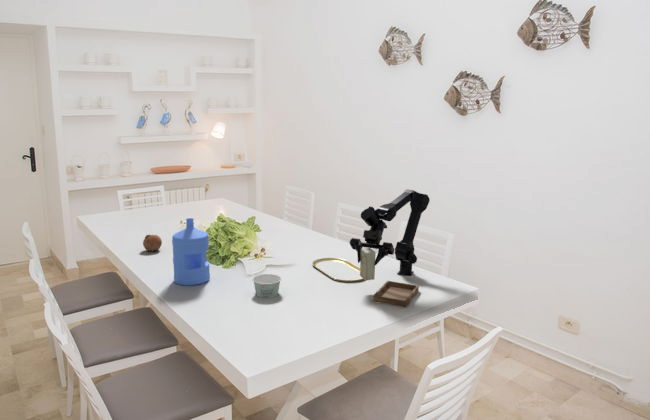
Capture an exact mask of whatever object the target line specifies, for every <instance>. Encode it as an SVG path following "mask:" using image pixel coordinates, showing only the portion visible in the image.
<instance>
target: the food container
mask: <svg viewBox="0 0 650 420" xmlns="http://www.w3.org/2000/svg"><path fill="white" fill-rule="evenodd" d="M281 281H282V277H281V276H279V275H277V274H273V273H263V274H258V275H257V274H256V275H255V276H252V282H253V285H254V290H255V295H256V296H258V297H260V298H272V297H275V296H276V297H277V296H278V294H279V289H280V283H281Z"/></svg>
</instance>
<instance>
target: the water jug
mask: <svg viewBox="0 0 650 420" xmlns="http://www.w3.org/2000/svg"><path fill="white" fill-rule="evenodd" d="M185 221H186V223H185V225H186V227H185V228H184V229H181V230H180V231H177V232H175V233H173V235H172V238H171V241H172V256H173V257H172V262H173V281H174V282H175V283H176V284H178V285H181V286H197V285H202V284H205V283H207V282H208V281H209V280H210V278H211V273H210V262H208V260H207V251H208V250H209V249H210V247H209V244H210V240H209V239H210V238H209V233H208V232H206V231H203V230H201V229H198V228H195V226H194V224H195V223H194V218H193V217H192V218H189V217H188V218H186V220H185Z"/></svg>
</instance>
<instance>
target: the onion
mask: <svg viewBox="0 0 650 420" xmlns="http://www.w3.org/2000/svg"><path fill="white" fill-rule="evenodd" d="M162 244H163V240H162V238H161V237H160V236H159V235H157V234H146V235H145V237H144V239H143V241H142V245H143V248H144V249H145V250H146V251H147V252H157V251H159V250H160V249H161V246H162ZM156 250H157V251H156Z"/></svg>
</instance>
